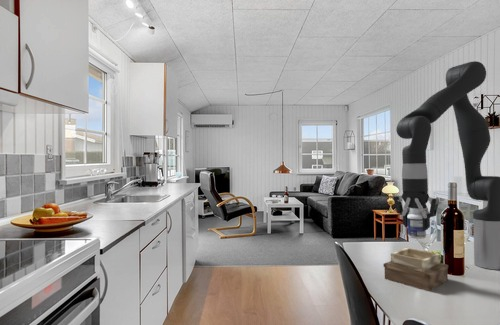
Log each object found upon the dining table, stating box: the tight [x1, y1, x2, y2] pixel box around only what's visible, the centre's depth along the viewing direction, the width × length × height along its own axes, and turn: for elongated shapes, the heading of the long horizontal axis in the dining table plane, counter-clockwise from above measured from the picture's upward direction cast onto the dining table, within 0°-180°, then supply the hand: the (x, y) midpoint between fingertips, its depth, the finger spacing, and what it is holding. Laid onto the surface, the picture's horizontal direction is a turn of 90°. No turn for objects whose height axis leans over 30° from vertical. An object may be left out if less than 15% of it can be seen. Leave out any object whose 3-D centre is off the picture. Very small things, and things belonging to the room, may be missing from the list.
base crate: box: [383, 260, 449, 292], centre depth 106 cm, size 14×14×5 cm
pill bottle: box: [407, 207, 427, 240], centre depth 106 cm, size 5×5×10 cm
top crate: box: [390, 247, 441, 272], centre depth 106 cm, size 11×11×4 cm
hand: (416, 227), depth 106 cm, fingers closed on pill bottle, 5 cm apart
